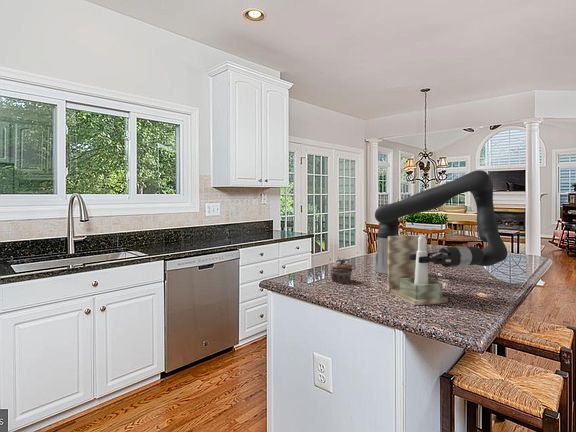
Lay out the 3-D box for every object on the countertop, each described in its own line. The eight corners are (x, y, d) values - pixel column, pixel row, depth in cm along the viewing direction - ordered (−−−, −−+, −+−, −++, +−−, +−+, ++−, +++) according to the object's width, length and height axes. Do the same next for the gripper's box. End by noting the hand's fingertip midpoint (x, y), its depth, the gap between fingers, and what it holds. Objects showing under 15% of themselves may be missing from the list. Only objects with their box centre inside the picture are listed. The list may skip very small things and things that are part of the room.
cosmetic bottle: (419, 291, 136) (420, 233, 134) (433, 295, 131) (434, 235, 129) (408, 294, 132) (409, 234, 131) (422, 298, 127) (424, 236, 126)
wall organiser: (413, 305, 124) (414, 242, 123) (387, 291, 142) (387, 236, 140) (453, 302, 127) (454, 240, 126) (423, 289, 145) (424, 234, 144)
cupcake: (346, 278, 165) (346, 256, 165) (355, 282, 156) (355, 260, 155) (326, 279, 163) (326, 257, 162) (334, 284, 154) (334, 261, 153)
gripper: (442, 244, 141) (403, 245, 137) (468, 249, 127) (426, 251, 123) (442, 262, 141) (403, 265, 138) (468, 270, 127) (426, 272, 124)
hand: (414, 258), depth 130 cm, fingers open, 5 cm apart
